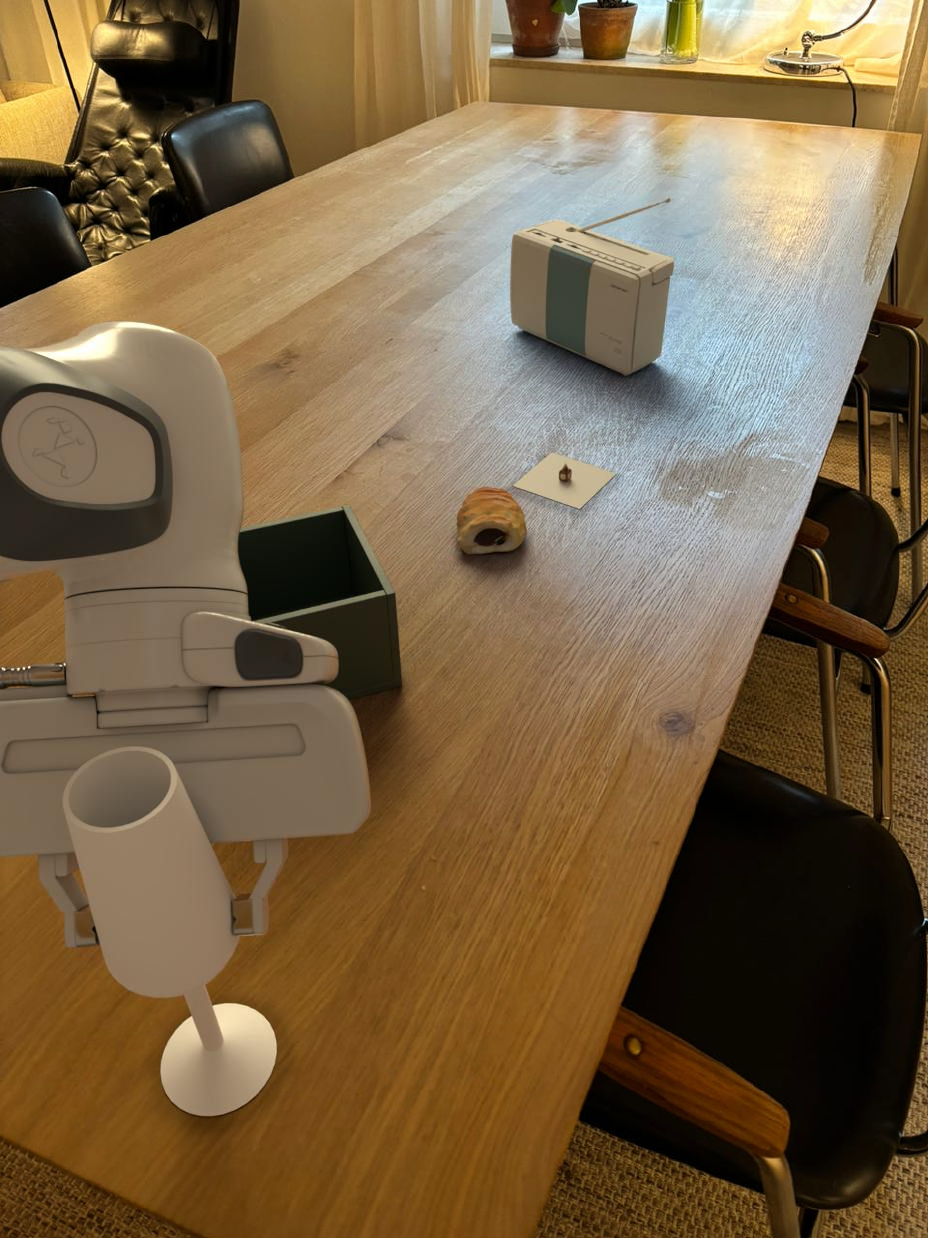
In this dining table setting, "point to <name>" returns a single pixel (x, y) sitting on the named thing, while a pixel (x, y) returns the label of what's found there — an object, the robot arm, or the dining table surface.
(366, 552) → the bin
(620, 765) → the dining table surface
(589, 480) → the beige flat slab
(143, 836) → the champagne flute
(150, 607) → the robot arm
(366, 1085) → the dining table surface
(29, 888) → the dining table surface
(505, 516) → the pastry
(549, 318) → the radio
